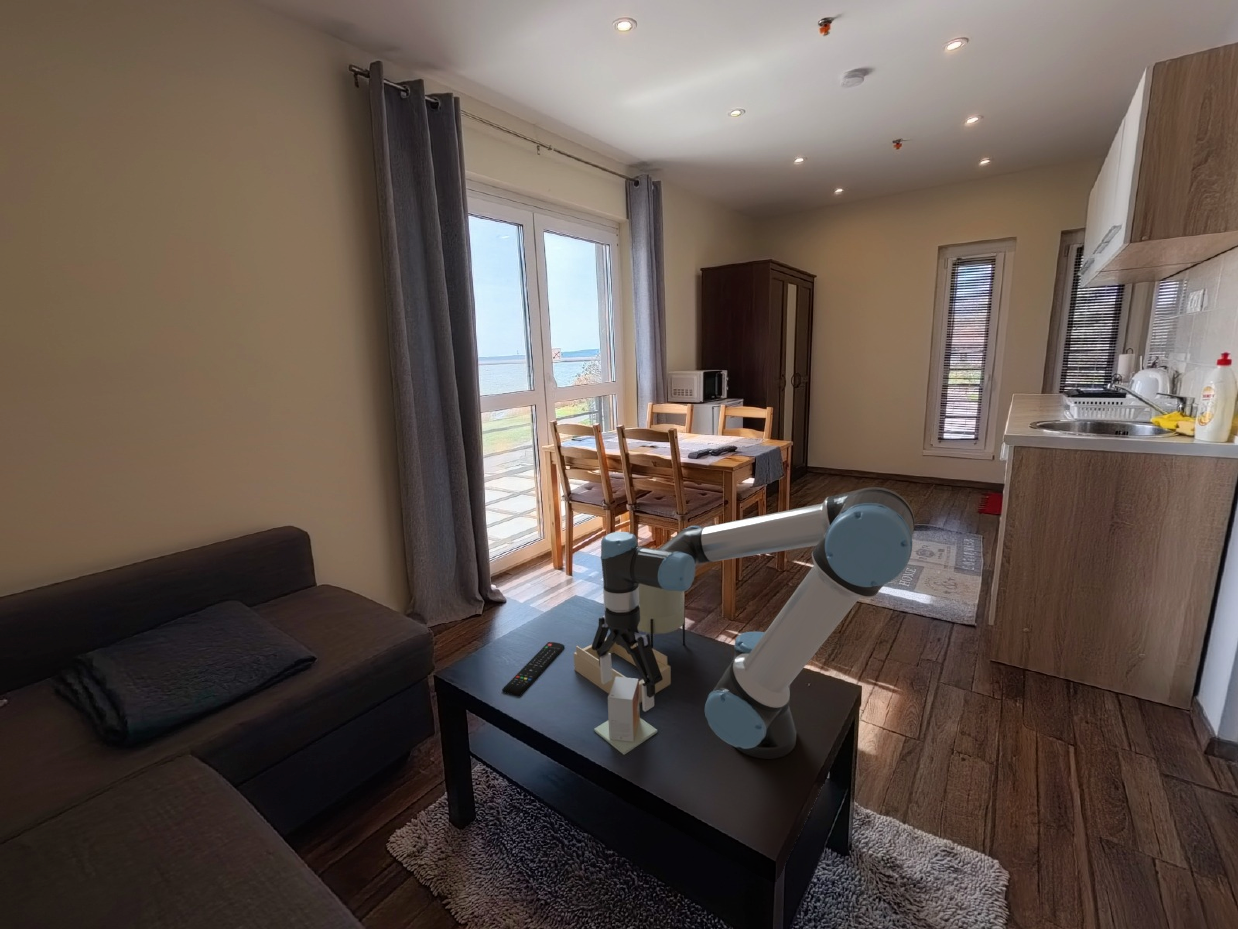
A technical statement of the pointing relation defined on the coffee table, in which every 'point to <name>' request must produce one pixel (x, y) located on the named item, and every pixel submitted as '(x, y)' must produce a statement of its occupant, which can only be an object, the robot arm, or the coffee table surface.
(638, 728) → the pad
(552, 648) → the remote control
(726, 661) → the coffee table surface
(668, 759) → the coffee table surface
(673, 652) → the coffee table surface
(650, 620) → the planter
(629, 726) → the small box
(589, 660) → the tray
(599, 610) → the coffee table surface
